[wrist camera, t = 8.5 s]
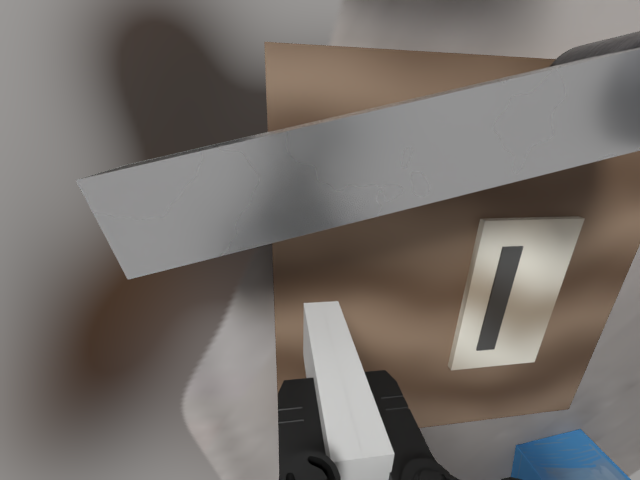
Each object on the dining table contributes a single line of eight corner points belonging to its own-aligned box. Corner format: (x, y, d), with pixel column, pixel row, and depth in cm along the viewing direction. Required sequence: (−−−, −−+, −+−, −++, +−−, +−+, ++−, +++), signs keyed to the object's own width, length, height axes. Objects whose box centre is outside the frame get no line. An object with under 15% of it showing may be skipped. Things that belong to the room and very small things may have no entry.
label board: (265, 50, 13) (264, 38, 12) (678, 73, 16) (729, 67, 15) (279, 424, 22) (279, 452, 20) (552, 392, 25) (574, 414, 23)
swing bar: (621, 36, 13) (945, -43, 7) (607, 130, 15) (862, 138, 8) (143, 145, 12) (-1, 173, 6) (181, 236, 14) (100, 337, 7)
